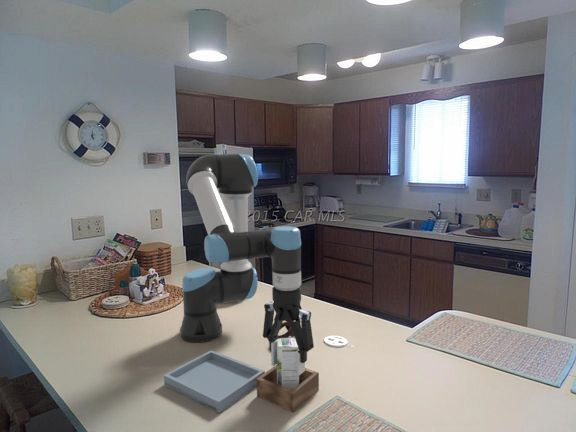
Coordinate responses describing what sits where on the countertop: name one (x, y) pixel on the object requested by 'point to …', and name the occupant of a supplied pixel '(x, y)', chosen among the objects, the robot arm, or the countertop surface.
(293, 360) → the syrup box
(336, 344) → the pendant
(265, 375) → the wooden cube shelf
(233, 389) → the grey tray
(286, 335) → the brown curved piece
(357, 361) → the countertop surface
